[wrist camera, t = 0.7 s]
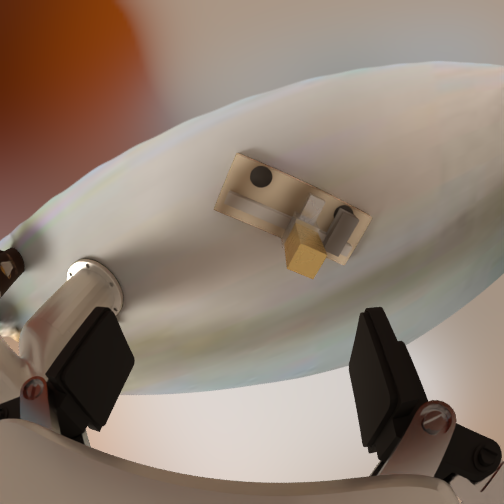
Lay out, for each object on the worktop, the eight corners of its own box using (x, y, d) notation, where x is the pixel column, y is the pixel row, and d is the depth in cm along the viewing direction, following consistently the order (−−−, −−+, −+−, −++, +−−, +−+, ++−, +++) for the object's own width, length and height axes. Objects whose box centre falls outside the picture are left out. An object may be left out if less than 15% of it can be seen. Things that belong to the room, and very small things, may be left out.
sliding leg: (325, 198, 34) (344, 224, 25) (301, 243, 37) (310, 283, 28) (304, 188, 34) (317, 211, 25) (281, 235, 37) (284, 272, 28)
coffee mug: (31, 280, 46) (5, 304, 37) (11, 274, 46) (-14, 295, 37) (19, 231, 41) (-13, 252, 32) (-1, 229, 41) (-30, 247, 32)
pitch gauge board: (368, 214, 37) (379, 224, 33) (342, 260, 40) (348, 274, 36) (237, 152, 34) (233, 155, 31) (215, 206, 38) (209, 215, 34)
